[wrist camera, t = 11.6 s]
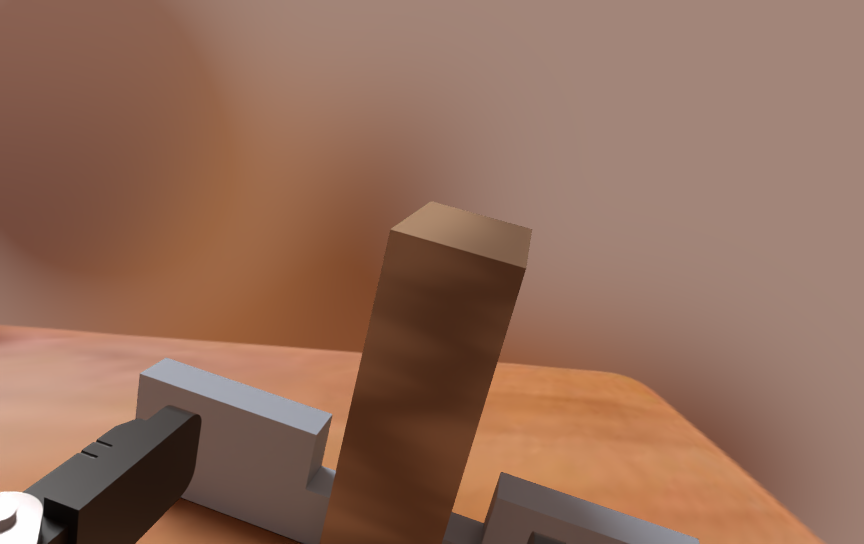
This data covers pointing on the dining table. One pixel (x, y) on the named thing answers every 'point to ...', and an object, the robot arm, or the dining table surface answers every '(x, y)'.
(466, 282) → the walnut block
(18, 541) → the robot arm
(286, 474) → the slate rail
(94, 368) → the dining table surface
